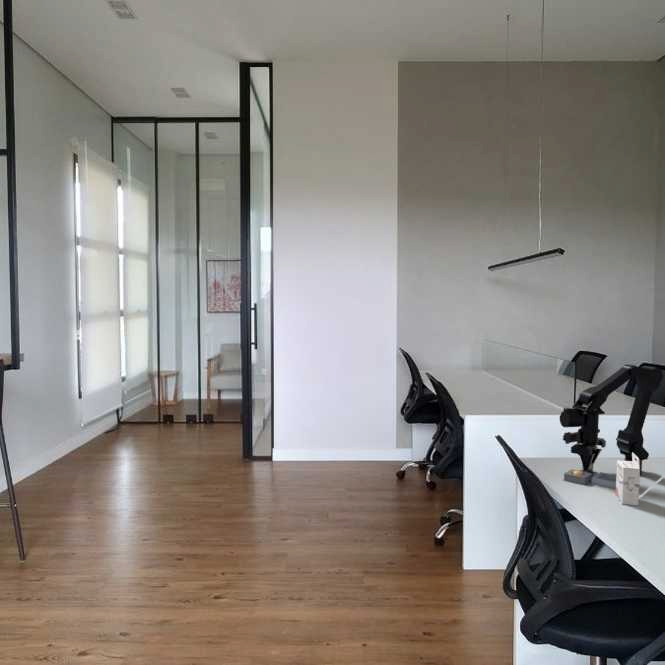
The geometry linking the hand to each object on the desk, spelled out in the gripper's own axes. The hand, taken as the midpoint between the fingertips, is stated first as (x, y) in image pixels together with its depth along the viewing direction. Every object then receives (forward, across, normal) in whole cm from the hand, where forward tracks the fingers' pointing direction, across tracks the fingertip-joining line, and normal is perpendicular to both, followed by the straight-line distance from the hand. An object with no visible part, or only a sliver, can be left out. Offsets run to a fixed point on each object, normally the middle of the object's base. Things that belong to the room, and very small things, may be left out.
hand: (587, 469), depth 216 cm
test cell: (+1, 0, 0) cm, 1 cm away
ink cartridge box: (+3, +18, +18) cm, 26 cm away
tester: (+2, +5, 0) cm, 6 cm away
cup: (+2, +5, +9) cm, 11 cm away
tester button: (+1, +10, 0) cm, 10 cm away
